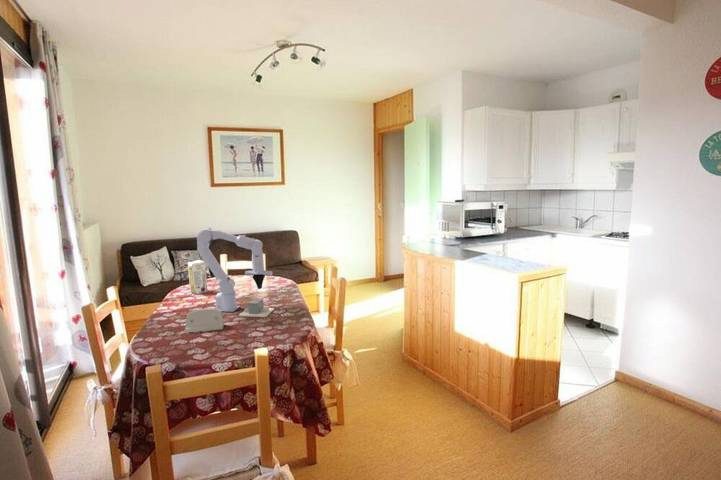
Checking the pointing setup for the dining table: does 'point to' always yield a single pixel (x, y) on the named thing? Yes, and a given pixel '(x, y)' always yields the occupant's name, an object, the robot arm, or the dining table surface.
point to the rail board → (262, 313)
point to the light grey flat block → (204, 320)
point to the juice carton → (197, 277)
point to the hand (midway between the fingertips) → (259, 288)
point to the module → (255, 306)
